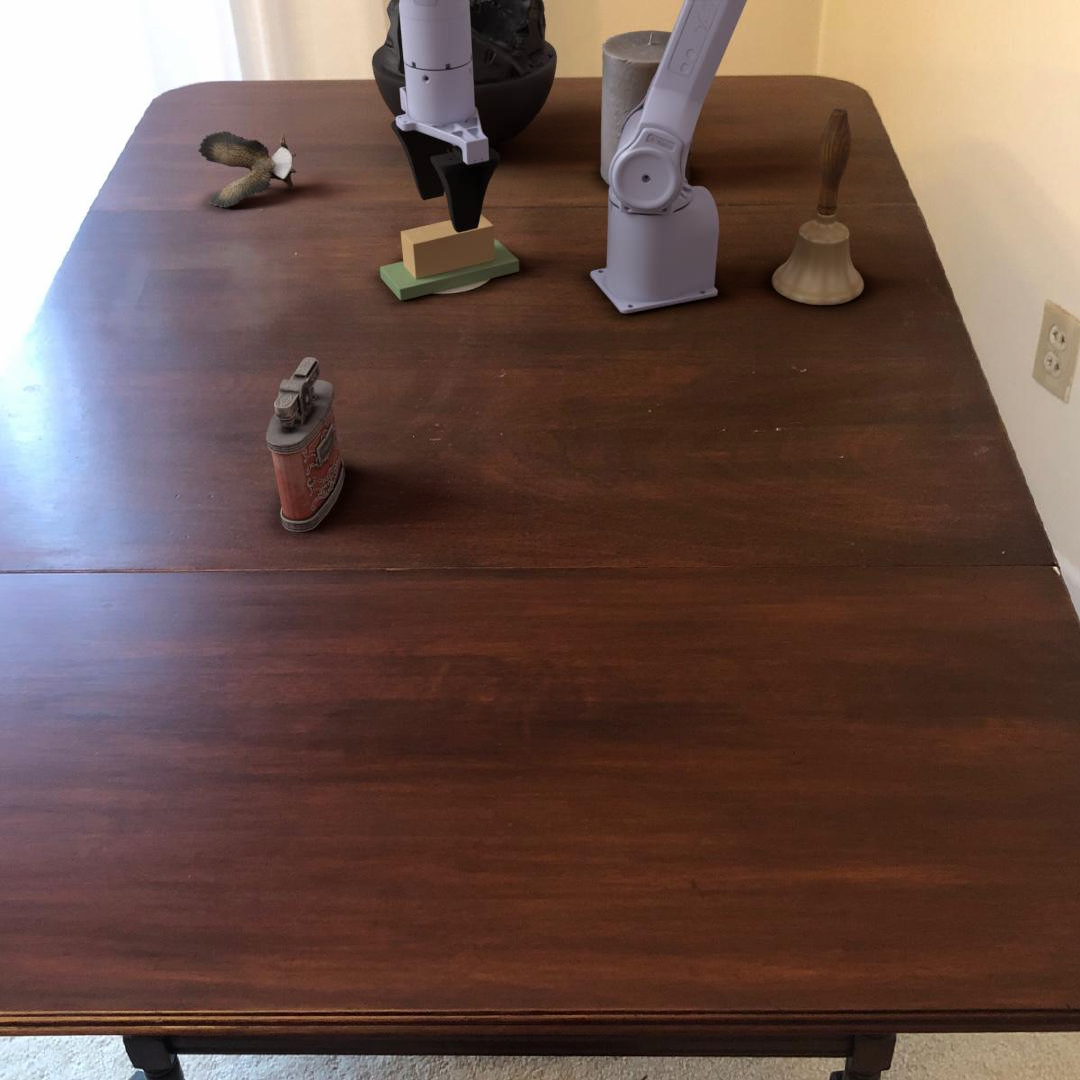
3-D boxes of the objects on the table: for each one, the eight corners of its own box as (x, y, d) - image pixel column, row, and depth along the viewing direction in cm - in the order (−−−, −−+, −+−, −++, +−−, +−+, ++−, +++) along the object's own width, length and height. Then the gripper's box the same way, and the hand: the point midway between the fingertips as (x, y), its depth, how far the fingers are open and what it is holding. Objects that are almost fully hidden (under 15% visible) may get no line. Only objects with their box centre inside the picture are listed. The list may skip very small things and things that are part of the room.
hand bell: (761, 296, 110) (782, 122, 100) (783, 257, 116) (804, 88, 106) (853, 313, 108) (884, 136, 98) (871, 271, 114) (901, 100, 104)
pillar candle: (705, 169, 132) (716, 25, 123) (662, 202, 126) (670, 54, 116) (626, 151, 136) (631, 11, 127) (582, 182, 130) (583, 37, 120)
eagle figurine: (276, 158, 133) (193, 159, 129) (290, 115, 127) (203, 114, 123) (294, 217, 131) (210, 220, 127) (308, 176, 125) (221, 178, 121)
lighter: (317, 534, 85) (298, 415, 79) (271, 528, 86) (248, 409, 79) (354, 467, 91) (338, 351, 85) (311, 462, 92) (292, 346, 85)
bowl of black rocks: (343, 155, 136) (322, -24, 124) (453, 100, 149) (443, -67, 137) (487, 197, 127) (479, 9, 115) (591, 135, 140) (593, -41, 128)
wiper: (519, 271, 115) (518, 224, 112) (400, 301, 111) (396, 253, 108) (496, 250, 118) (495, 204, 115) (380, 278, 114) (375, 231, 111)
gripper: (362, 42, 105) (378, 192, 114) (427, 95, 95) (440, 254, 104) (437, 29, 108) (447, 177, 116) (509, 79, 98) (514, 236, 106)
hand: (448, 212), depth 110 cm, fingers open, 7 cm apart
